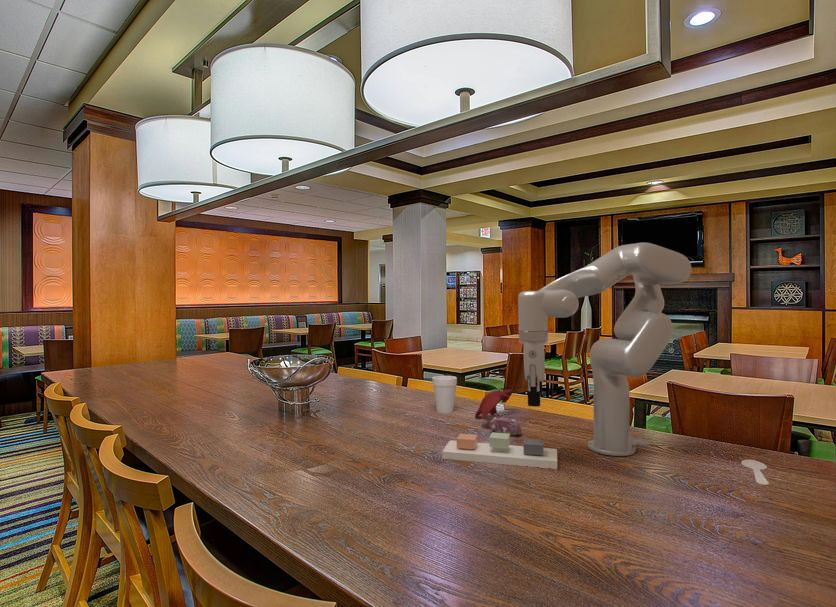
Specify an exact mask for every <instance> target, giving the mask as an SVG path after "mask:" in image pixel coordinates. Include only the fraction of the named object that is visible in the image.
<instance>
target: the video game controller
mask: <svg viewBox="0 0 836 607" xmlns="http://www.w3.org/2000/svg"><path fill="white" fill-rule="evenodd" d="M496 417H497V416H496ZM496 417H495V416H493V418H492V419H491V420H490V421H489V423H488V427H489V428H490V429H491V431H492V432H495V433H507V434H510V437H511V436H513V434H514V433H516V435H517V436H521V435H522V431H523V430H522V428H521V426H520V423H519V422H518V421H516V419H510V418H508V417H505V416H502V417H501V416H500V417H497V418H496ZM505 429H506V430H505ZM504 430H505V432H504Z"/></svg>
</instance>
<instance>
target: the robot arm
mask: <svg viewBox="0 0 836 607" xmlns="http://www.w3.org/2000/svg"><path fill="white" fill-rule="evenodd" d="M691 274H692V264H691V262H690V259H688V257H687V256H686V255H684V254H683V253H680V252H677V251H675V250H672V249H669V248H666V247H663V246H660V245H657V244H654V243H651V242H637V243H629V244H628V243H627V244H622V245H619V246H616V247H614V248H612V249H611V250H609V251H608V252H606V253H605V254H603V255H601V256H600V257H599V258H596V259H595V260H594V261H592V262H591V263H589V264H587V265H585V266H583V267H581V268H579V269H577V270H574V271H573V272H570V273H568V274H565V275H564V276H561V277H559V278H556V279H555V280H553V281H551V282H550V283H547V285H545V286H543V287H542V288H540V289H538V290H528V291H527V290H526V291H525V290H524V291H521V292H520V293H519V294H518V297H517V298H518V299H517V301H518V303H517V305H518V307H517V308H518V343H519V344H522V345H523V370H524V379H525V381H526V382H527V384H528V389H527V406H528V407H540V406H541V390H540V381H541V382H542V383H543V382H545V376H546V373H545V372H546V371H545V365H546V364H545V360H546V359H545V358H546V357H545V345H546V344H548V343H549V340H548V339H549V336H548V333H549V328H548V324H549V323H548V320H549V319H548V318H558V319H559V318H560V319H562V318H563V319H564V318H565V319H566V318H569V317H572V316H573V315H575V313H577V311H578V310H579V305H580V303H579V302H580V301H579V298H584V297H590V296H593V295H597V294H600V293H603V292H605V291H607V290H608V289H610V288H611V287H612V286H614V285H615V284H617V283H618V282H620V281H621V280H623V279H624V278H626V277H627V276H629V275H632V278H633V282H634V286H635V293H634V297H633V298H632V300H631V301H630V302H629V304H628V305H627V306H626V307H625V309H624V310H623V312H622V313H621V314H620V316H619V317H618V319H617V320H616V321H615V324H614V326H613V327H614V328H613V331H614V332H613V333H614V335H615V337H616V338H602V339H598V340H597V341H596V342H594V343H593V344H592V345H591V348H590V350H589V363H590V366H591V371H592V379H593V380H592V382H593V439H590V440H589V441H588V442H587V447H588V449H589V450H590V451H592V452H595V453H598V454H602V455H605V456H614V457H625V456H627V457H629V456H632V455H634V454H635V453H636V449H637V448H636V447H638V446H640V447H649V440H648V439H643V438H642V437H639V436H638V437H633V435H632V434H631V433H630V424H631V423H630V422H631V420H630V397H631V396H630V384H629V381H628V378H627V377H632V378H638V377H643V376H644V375H646V374H648V372H649V371H650V370H651V369H652V368H653V366H654V365H655V364H656V362H657V361H658V359H659V358H660V356H661V355H662V354H663V352H664V350H665V349H666V347H667V346H668V345H669V344H670V341H671V339H672V336H673V332H674V329H673V328H674V327H673V323H672V320H671V318H670V317H669V316H668V315H666V314H665V313H663V310H664V307H665V299H664V295H663V292H662V288H661V286H660V285H679V284H681V283H683V282H686V281H687V280H688V279H689V277H690V276H691Z"/></svg>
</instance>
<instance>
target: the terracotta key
mask: <svg viewBox="0 0 836 607" xmlns="http://www.w3.org/2000/svg"><path fill="white" fill-rule="evenodd" d="M478 440H479V438H478V434H474V433H473V434H471V433H459V435H458V436H457V437H456V441H457V448H465V449H475V448H476V446H477V444H478V443H479V442H478Z"/></svg>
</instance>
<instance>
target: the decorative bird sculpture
mask: <svg viewBox="0 0 836 607" xmlns="http://www.w3.org/2000/svg"><path fill="white" fill-rule="evenodd" d="M513 393H514V389H506V390H499V389H498V390H493V391H490V392H489V393H487V394H486V395H485V396H483V398H482V400H481V402H480V403H479V404H480V405H479V407H478V408H477V410H476V413H475V415H474V418H476V417H477V418H478V417H479V416H480V415H481V417H480V418H481V419H482V421H484V420H485V419H486V417H487V416H488V415H490V416H493V417H496V418H500V417H503V415H502V416H500V415H499V414H498V410H497V405H498V404H499V403H500V402H501V403H507V401H508V400H510V398H511V396H512V394H513ZM496 415H497V416H496ZM477 418H476V419H477Z"/></svg>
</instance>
